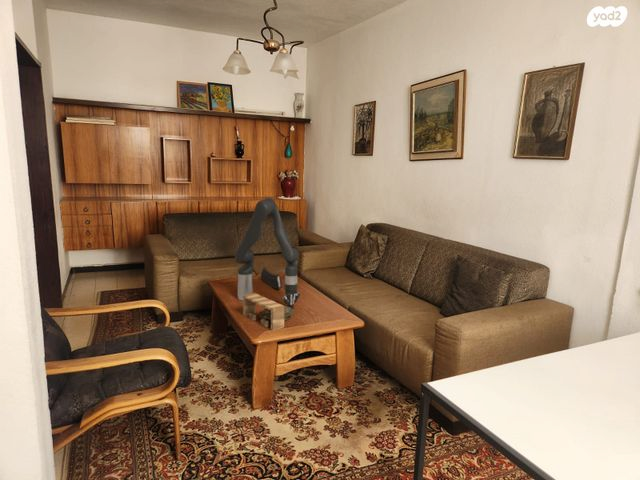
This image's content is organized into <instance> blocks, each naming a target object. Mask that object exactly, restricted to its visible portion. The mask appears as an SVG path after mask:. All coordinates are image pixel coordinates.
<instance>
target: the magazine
mask: <svg viewBox="0 0 640 480" xmlns="http://www.w3.org/2000/svg"><path fill="white" fill-rule="evenodd" d="M260 275H261V277H260V279H261V280H262V281H263V282H264V283H265V284H266V285H268V286H269V287H270V288H273V289H276V290H277V291H279V290H280V289H282V288H283V283H282V279H281V277H280V274H274V273H272V272H271V271H270V270H268V269H267V268H266V267H265V266H264V267H263V268H262V270H261V274H260Z"/></svg>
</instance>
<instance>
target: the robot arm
mask: <svg viewBox="0 0 640 480" xmlns="http://www.w3.org/2000/svg"><path fill="white" fill-rule="evenodd" d="M269 215H270V217H271V219H272V222H273V233H274V237H275V239H276V241H277V244H278V246H279V248H280V251H281V254H282V257H283V259H284V261H286V262H287V264H286V265H285V269H284V271H285V272H284V273H285V274H284V275H285V276H284V291H285V292H284V295H283V296H281V299H282V301H283V302H284V304H286V305H287V307H291V308H292V309H293V310H294V304H296V303H297V302H298V300H299V298H300V296H301V293H300V292H298V264H299V258H300V253H299V250H297V249H296V248H294V247H293V248H292V246H291V244H292V241H291V239H290V238H291V237H290V236H289V235H288V232H287V230H286V229H285V226H284V223H283V221H282V217H281V214H280V211H279V208H278V205H277V203H276V201H275V200H274V199H273V198H271V197H267V198H264V199H263V198H262V199H261V200H259V201H257V203H256V204H255V207H254V210H253V214H252V217H251V220H250V222H249V225H248V226H247V229H246V231H245V233H244V236H243V238H242V241H241V242H240V243H239V245H238V247H237V249H236V251H235V253H234V260H235V262H236V263H237V264H240V265H241V264H242V266H241V267H239V268H238V269H237V298H238V300H239V301H242V302H243V295H246V294H250V293H254V291H253V290H254V289H253V288H254V287H253V285H254V284H253V283H254V281H253V279H254V278H253V271H254V262H255V259H254V257H255V256H254V251H253V249H252V247H253V246H254V245H255V244H256V243H258V242H259V241H260V239H261V237H262V234H263V231H264V230H263V229H264V228H263V221H264V220H265V218H266V217H267V216H269Z"/></svg>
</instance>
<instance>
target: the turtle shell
mask: <svg viewBox="0 0 640 480" xmlns="http://www.w3.org/2000/svg"><path fill="white" fill-rule="evenodd" d="M282 305H283V304H282ZM283 306H284V321H287V320H289V319H290V318H291V317H292V316H293V314H294V312H295V311H294V308H293V309H292V308H291V307H288V305H287V306H286V305H283ZM257 316H258V318H259V319H260V320H261V319H265V320H267V321H269V323H271V310H269V309H267V308H264V309H262V310H260V311H259V312H258V314H257Z"/></svg>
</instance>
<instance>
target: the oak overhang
mask: <svg viewBox="0 0 640 480" xmlns="http://www.w3.org/2000/svg"><path fill="white" fill-rule="evenodd" d="M257 305H259V306H261V307H263V308H264V309H266V308H267V309H269V310H271V322H269V321H267V320H265V319H261V318H260V325H261V326H263V327H265V328H269V326H270V330H271V331H272V330H273V332H274V331H277V330H280V329H283V328H285V320H284V306H285V305H284V306H283V304H281V303H278V302H276V301H274V300H272V299H269V298H267V297H265V296H262V295H260V294H258V293H256V292H253V293H250V294H246V295H243V301H242V316H243V317H247V316H248V319H249V320H251V321H254V322H255V321H257V315H256V313H257Z"/></svg>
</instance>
